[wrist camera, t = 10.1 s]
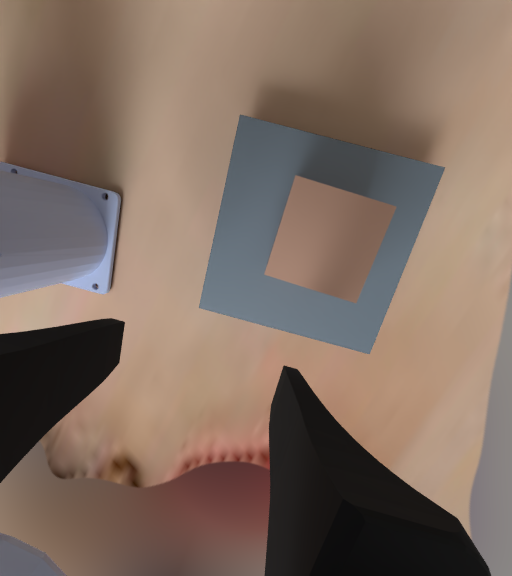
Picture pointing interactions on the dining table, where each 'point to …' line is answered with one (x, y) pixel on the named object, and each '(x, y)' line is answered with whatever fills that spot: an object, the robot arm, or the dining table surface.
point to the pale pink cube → (328, 239)
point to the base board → (267, 215)
